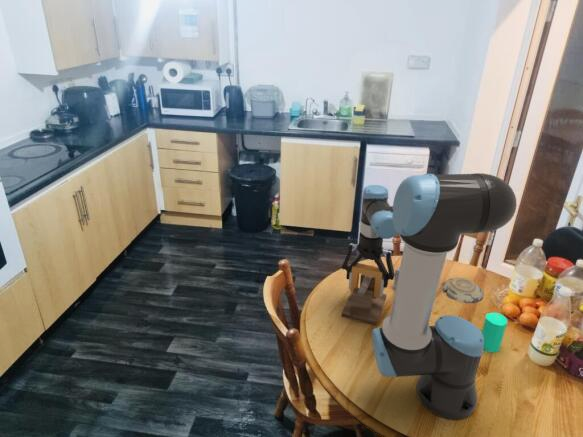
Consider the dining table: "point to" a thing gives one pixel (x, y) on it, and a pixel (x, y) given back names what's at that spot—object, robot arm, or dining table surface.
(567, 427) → the dining table surface
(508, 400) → the dining table surface
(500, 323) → the candle
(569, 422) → the dining table surface
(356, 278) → the orange open frame
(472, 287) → the decorative bowl
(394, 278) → the medicine box
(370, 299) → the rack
